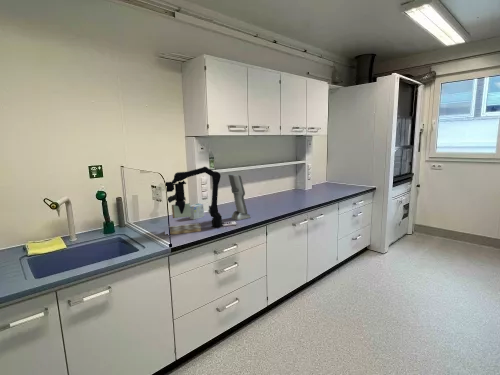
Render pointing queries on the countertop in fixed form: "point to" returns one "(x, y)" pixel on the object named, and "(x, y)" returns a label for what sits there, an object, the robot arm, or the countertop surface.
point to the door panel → (177, 213)
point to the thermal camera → (238, 197)
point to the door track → (185, 228)
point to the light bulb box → (196, 211)
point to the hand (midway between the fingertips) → (181, 213)
